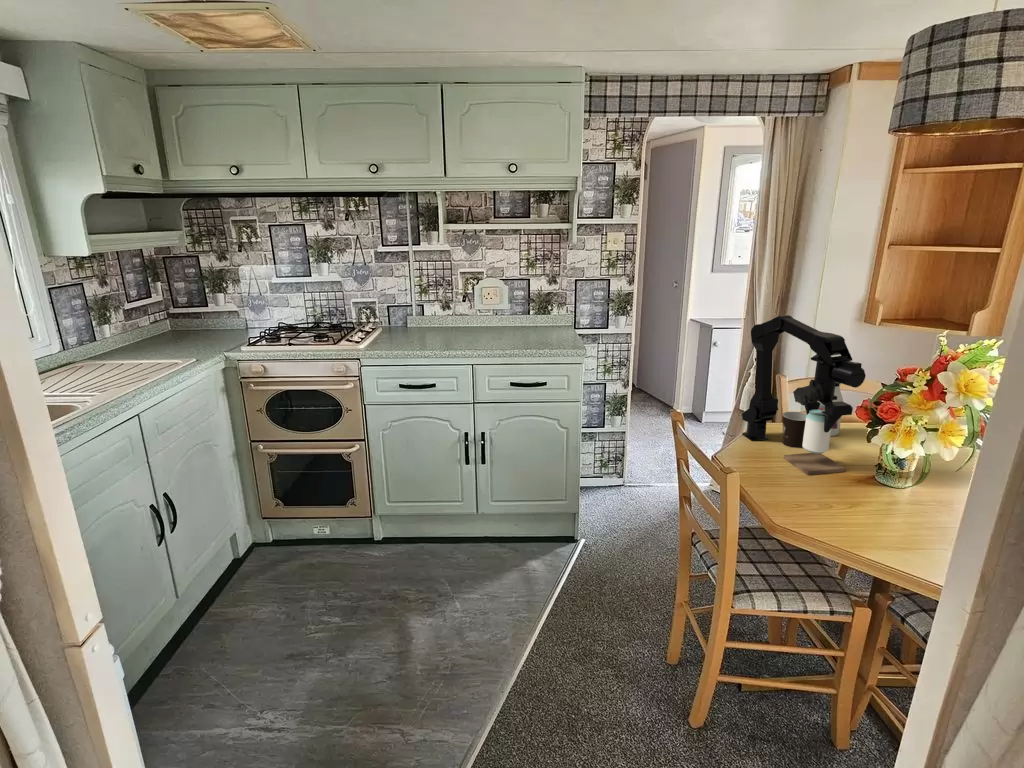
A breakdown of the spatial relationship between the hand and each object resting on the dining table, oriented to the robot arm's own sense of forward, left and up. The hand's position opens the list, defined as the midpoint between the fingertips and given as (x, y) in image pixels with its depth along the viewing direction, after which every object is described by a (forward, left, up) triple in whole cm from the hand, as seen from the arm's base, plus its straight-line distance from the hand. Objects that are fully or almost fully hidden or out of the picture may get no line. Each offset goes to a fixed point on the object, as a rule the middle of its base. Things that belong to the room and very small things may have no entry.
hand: (818, 427), depth 172 cm
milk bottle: (-23, +21, -12) cm, 33 cm away
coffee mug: (-17, +5, -12) cm, 22 cm away
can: (0, 0, -7) cm, 7 cm away
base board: (0, 0, -12) cm, 12 cm away
